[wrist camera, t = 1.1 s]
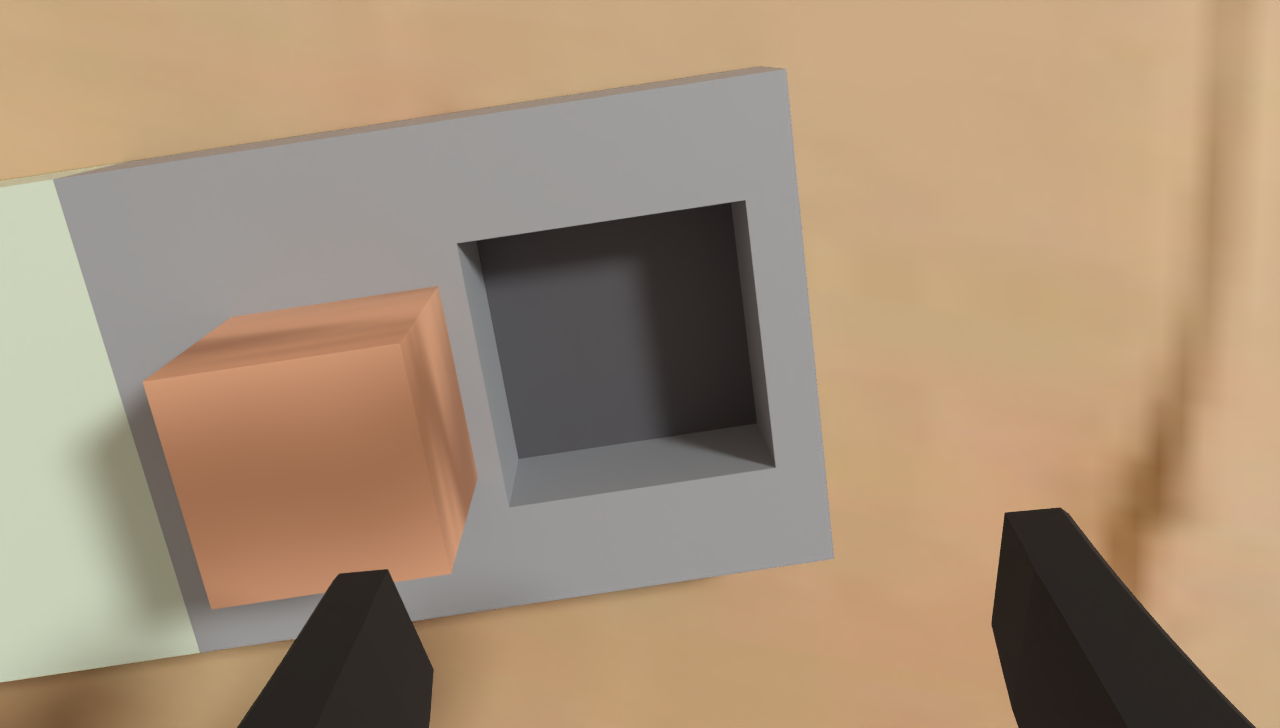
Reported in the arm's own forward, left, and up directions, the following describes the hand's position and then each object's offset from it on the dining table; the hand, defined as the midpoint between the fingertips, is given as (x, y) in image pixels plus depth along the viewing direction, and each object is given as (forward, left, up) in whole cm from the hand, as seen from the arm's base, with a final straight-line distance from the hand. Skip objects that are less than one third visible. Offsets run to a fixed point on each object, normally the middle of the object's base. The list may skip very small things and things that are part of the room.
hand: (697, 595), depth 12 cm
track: (+1, +10, -11) cm, 15 cm away
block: (+1, +6, -8) cm, 10 cm away
